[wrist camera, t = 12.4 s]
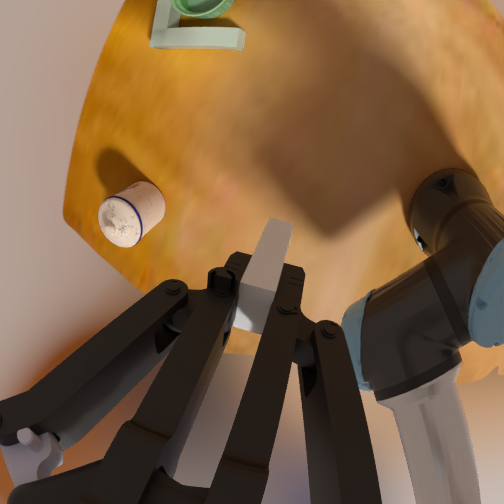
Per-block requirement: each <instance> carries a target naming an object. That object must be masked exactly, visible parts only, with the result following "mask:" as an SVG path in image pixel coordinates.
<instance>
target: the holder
mask: <svg viewBox="0 0 504 504" xmlns="http://www.w3.org/2000/svg"><path fill="white" fill-rule="evenodd" d="M180 16H181V14H180V13H179V12H177V11H176V10H175V9H174V7H173V6H172V3H171V0H158V2H157V7H156V12H155V17H154V23H153V29H152V35H151V41H150V47H152V48H158V49H183V48H195V49H224V50H239V51H243V50H244V44H245V38H246V32H245V31H243V30H242V29H241V28H232V27H181V28H178V27H179V22H180Z"/></svg>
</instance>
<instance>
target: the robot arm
mask: <svg viewBox="0 0 504 504" xmlns="http://www.w3.org/2000/svg"><path fill="white" fill-rule="evenodd" d="M409 225H410V230H411V233H412V235H413V237H414V239H415V241H416V243H417V245H418V246H419V248H420V249H421V250H422V251H423V252H424V253H425V254H426V255H427V256H429V257H428V258H427V259H425V260H424V261H422V262H420V263H419V264H417V265H416V266H414V267H413V268H411V269H409V270H408V271H406V272H404V273H403V274H401V275H400V276H398V277H396V278H395V279H393V280H391V281H390V282H388V283H386V284H384V285H383V286H381V287H379V288H378V289H373V290H371V291H370V292H368V294H367V295H366V296H364V297H363V298H361V299H360V300H358V301H356V302H355V303H353V304H352V305H350V306H349V307H348V309H347V310H346V311H345V313H344V316H343V318H342V323H341V327H340V326H339V325H338V324H337V323H335V322H333V321H329V320H321V321H319V322H317V323H315V322H313V321H311V320H309V319H308V318H306V317H305V316H304V315H303V313H302V311H301V309H300V305H301V299H302V293H303V286H304V280H305V272H304V270H303V268H302V267H298V266H294V265H290V264H286V263H284V262H285V258H286V254H287V250H288V246H289V242H290V238H291V234H292V230H293V226H294V223H290V222H286V221H282V220H278V219H274V218H269V220H268V222H267V225H266V227H265V229H264V231H263V233H262V236H261V238H260V240H259V242H258V244H257V246H256V249H255V251H254V253H253V255H249V254H245V253H241V252H238V251H237V252H235V253H233V254H232V255H230V257H229V259H228V260H227V262H226V264H225V265H224V267H216V268H214V269H211V270H210V271H209V272H208V283H207V288H206V289H203V290H191V289H188V287H187V285H186V284H185V283H184V282H183V281H180V280H177V279H170V280H166V281H164V282H162V283H161V284H159V285H158V286H157V287H155V288H154V289H153V290H152V291H150V292H149V293H148V294H146V295H145V296H144V297H142V298H141V299H140V300H139V301H137V302H136V303H135V304H134V305H132V306H131V307H130V308H128V309H127V310H126V311H125V312H123V313H122V314H121V315H120V316H118V317H117V318H116V319H114V320H113V321H112V322H111V323H110V324H108V325H107V326H106V327H104V328H103V329H102V330H101V331H99V332H98V333H97V334H96V335H94V336H93V337H92V338H91V339H90V340H88V341H87V342H86V343H85V344H83V345H82V346H81V347H80V348H78V349H77V350H76V351H75V352H74V353H72V354H71V355H70V356H69V357H68V358H66V359H65V360H64V361H63V362H62V363H61V364H59V365H58V366H57V367H56V368H54V369H53V370H52V371H51V372H50V373H48V374H47V375H46V376H45V377H44V378H43V379H41V380H40V381H39V382H38V383H37V384H35V385H34V386H33V387H32V388H31V389H30V390H28V391H26V392H24V393H21V394H18V395H16V396H13V397H10V398H8V399H5V400H2V401H0V447H1V450H2V453H3V456H4V459H5V462H6V465H7V467H8V470H9V473H10V475H11V478H12V480H13V483H14V485H15V488H14V489H13V490H12V492H11V493H10V495H9V497H8V501H7V504H261V501H262V498H263V494H264V491H265V487H266V484H267V480H268V475H269V468H268V467H269V461H270V457H271V453H272V449H273V445H274V441H275V437H276V433H277V429H278V425H279V420H280V415H281V412H282V407H283V402H284V398H285V393H286V389H287V384H288V379H289V374H290V369H291V364H292V362H294V363H296V364H298V375H299V384H300V392H301V402H302V411H303V420H304V430H305V441H306V451H307V462H308V474H309V486H310V500H311V504H382V500H381V494H380V488H379V482H378V476H377V470H376V465H375V459H374V454H373V449H372V445H371V439H370V435H369V430H368V425H367V421H366V417H365V412H364V408H363V403H362V399H361V395H360V391H359V389H361V390H364V391H365V390H367V391H371V390H373V392H374V395H375V398H376V401H377V403H379V404H381V405H383V406H385V407H387V408H390V409H391V410H392V411H393V414H394V417H395V420H396V424H397V427H398V431H399V434H400V438H401V442H402V445H403V449H404V453H405V457H406V461H407V464H408V469H409V473H410V477H411V481H412V485H413V490H414V495H415V500H416V504H481V501H480V490H479V482H478V475H477V467H476V462H475V456H474V450H473V445H472V440H471V435H470V431H469V427H468V423H467V418H466V414H465V411H464V407H463V403H462V400H461V396H460V393H459V389H458V386H457V381H456V378H457V376H458V373H459V371H460V369H461V366H462V364H463V362H462V359H461V356H460V353H459V348H460V347H462V346H464V345H466V344H467V343H469V342H471V341H474V342H476V343H477V344H478V345H480V346H482V347H486V348H490V347H492V346H493V345H495V346H499V345H502V344H504V215H503V214H502V213H500V212H499V211H498V210H497V209H496V208H495V207H494V206H493V203H492V201H491V199H490V197H489V194H488V192H487V190H486V189H485V187H484V186H483V184H482V183H481V182H480V181H479V180H478V179H476V178H475V177H474V176H472V175H471V174H469V173H468V172H466V171H463V170H460V169H444V170H440V171H438V172H436V173H434V174H432V175H431V176H429V177H428V178H427V179H426V180H424V181H423V182H422V184H421V185H420V186H419V187H418V189H417V190H416V192H415V194H414V196H413V199H412V201H411V205H410V209H409ZM233 322H234V324H233ZM232 325H233V327H236V328H240V329H243V330H247V331H250V332H254V333H258V334H261V335H262V336H261V339H260V342H259V346H258V349H257V352H256V355H255V359H254V362H253V365H252V368H251V372H250V374H249V378H248V381H247V384H246V387H245V390H244V393H243V396H242V399H241V402H240V405H239V408H238V411H237V414H236V417H235V420H234V423H233V426H232V429H231V432H230V435H229V438H228V441H227V443H226V446H225V449H224V452H223V455H222V457H221V460H220V462H219V465H218V468H217V470H216V473H215V476H214V479H213V481H212V484H211V487H210V488H202V487H193V486H185V485H182V484H180V483H178V482H177V481H175V480H174V479H173V476H174V474H175V471H176V468H177V464H178V460H179V457H180V454H181V452H182V450H183V447H184V445H185V443H186V440H187V438H188V435H189V433H190V431H191V428H192V426H193V423H194V421H195V419H196V416H197V414H198V411H199V409H200V407H201V404H202V402H203V400H204V397H205V395H206V392H207V390H208V387H209V385H210V383H211V380H212V378H213V375H214V373H215V371H216V368H217V366H218V363H219V361H220V358H221V356H222V354H223V351H224V349H225V346H226V344H227V341H228V339H229V336H230V332H231V327H232ZM169 352H170V353H169ZM168 353H169V354H168ZM167 354H168V356H167V358H166V360H165V361H164V363H163V365H162V367H161V369H160V370H159V372H158V374H157V376H156V377H155V379H154V381H153V383H152V385H151V386H150V388H149V390H148V392H147V394H146V395H145V397H144V399H143V401H142V403H141V404H140V407H139V408H138V410H137V412H136V414H135V415H134V417H133V418H132V419H131V420H129V421H126V422H125V423H124V424H123V425H122V426H121V428H120V429H119V431H118V432H117V434H116V436H115V438H114V440H113V441H112V443H111V445H110V447H109V449H108V451H107V452H106V454H105V456H104V458H103V459H101V460H98V461H95V462H92V463H89V464H87V465H84V466H81V467H78V468H75V469H72V470H69V471H66V472H64V473H60V474H57V475H54V476H50V474H51V472H52V471H53V470H54V469H55V468H56V467H58V466H60V465H61V464H62V463H63V454H62V451H64V450H66V449H68V448H70V447H71V446H73V445H74V444H75V443H77V442H78V441H79V440H80V439H82V438H83V437H84V436H85V435H86V434H87V433H88V432H89V431H90V430H91V429H92V428H93V427H94V426H95V425H96V424H97V423H99V421H101V420H102V418H104V417H105V416H106V415H107V414H108V413H109V412H110V411H111V410H112V409H113V408H114V407H115V406H116V405H117V404H118V403H119V402H120V401H121V400H122V398H124V397H125V396H126V395H127V394H128V393H129V392H130V391H131V390H132V389H133V388H134V387H135V386H136V385H137V384H138V383H139V382H140V381H141V380H142V379H143V378H144V377H145V376H146V375H147V374H148V372H150V371H151V370H152V369H153V368H154V367H155V366H156V364H158V363H159V362H160V361H161V360H162V359H163V358H164V357H165V356H166V355H167Z"/></svg>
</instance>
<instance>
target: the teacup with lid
mask: <svg viewBox="0 0 504 504" xmlns="http://www.w3.org/2000/svg"><path fill="white" fill-rule="evenodd" d="M164 214H165V201H164V198H163V195H162V194H161V192H160V191H159V189H158V188H157V187H155V186H154V185H153V184H151V183H149V182H145V181H140V182H136V183H134V184H132V185H131V186H129V187H127V188H126V189H124V190H122V191H121V192H119V193H117V194H116V195H114V196H110V197H108V198H106V199H105V200H104V201H103V202H102V204H101V206H100V208H99V213H98V219H99V224H100V227H101V229H102V231H103V233H104V234H105V236H106V237H107V238H108V239H109V240H110V241H111V242H112V243H114V244H116V245H118V246H121V247H131V246H134V245H136V244H137V243H138V242H139V241H140V239H141V237H143V236H144V235H145V234H146V233H147V232H148V231H149V230H150V229H151V228H153V227H154V226H155V225H156V224H157V223H158V222H159V221H161V219H162V218H163V216H164Z"/></svg>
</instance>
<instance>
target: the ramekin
mask: <svg viewBox="0 0 504 504" xmlns="http://www.w3.org/2000/svg"><path fill="white" fill-rule="evenodd" d="M233 2H234V0H171V3H172V6H173V7H174V9H175V10H176V11H177V12H179V13H180V14H182V15H185V16H190V17H196V18H200V19H211V18H215V17H217V16H220V15H221V14H223V13H225V12H226V11H227V10H228V9H229V8H230V7H231V6H232V4H233Z"/></svg>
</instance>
